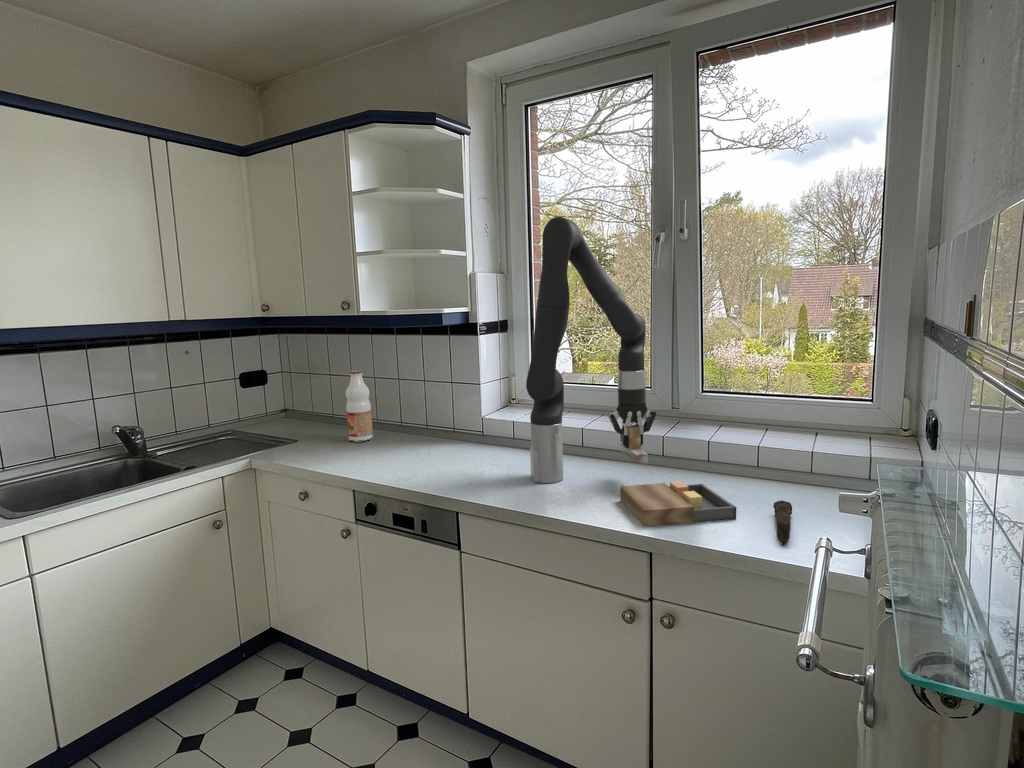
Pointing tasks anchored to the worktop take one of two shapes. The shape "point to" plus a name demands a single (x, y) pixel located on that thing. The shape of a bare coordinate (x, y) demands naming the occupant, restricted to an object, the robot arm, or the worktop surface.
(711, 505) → the box
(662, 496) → the walnut slab
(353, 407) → the fruit juice
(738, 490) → the worktop surface
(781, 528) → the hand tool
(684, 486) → the salmon orange block
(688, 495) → the yellow block
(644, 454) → the oak scraper
